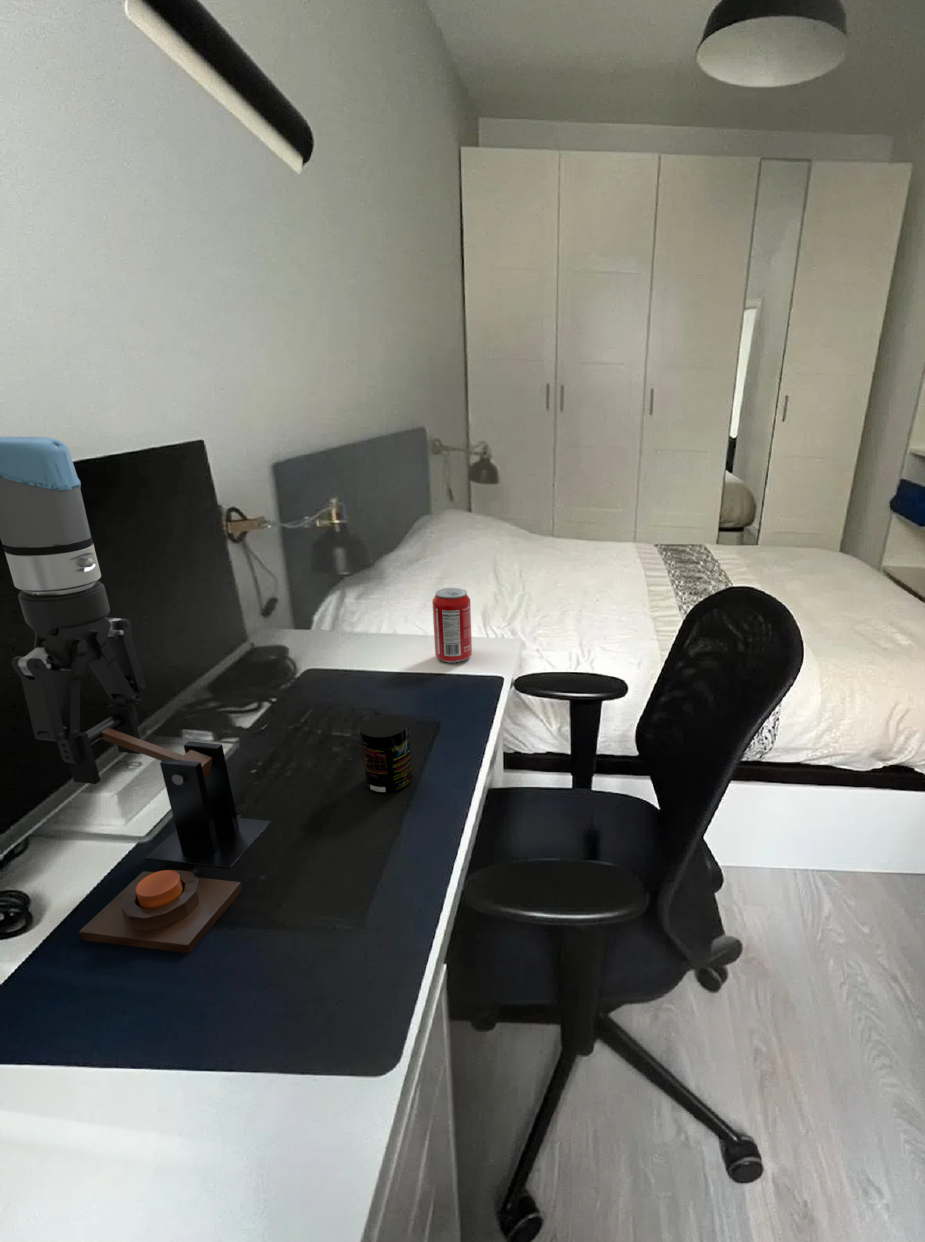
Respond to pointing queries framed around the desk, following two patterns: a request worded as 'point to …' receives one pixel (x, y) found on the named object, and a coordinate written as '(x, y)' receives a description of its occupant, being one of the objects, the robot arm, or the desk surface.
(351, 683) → the desk surface
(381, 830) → the desk surface
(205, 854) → the bracket
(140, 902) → the button
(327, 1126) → the desk surface
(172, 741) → the desk surface
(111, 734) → the lever
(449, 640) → the soda can
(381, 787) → the supplement container
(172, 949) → the button block
